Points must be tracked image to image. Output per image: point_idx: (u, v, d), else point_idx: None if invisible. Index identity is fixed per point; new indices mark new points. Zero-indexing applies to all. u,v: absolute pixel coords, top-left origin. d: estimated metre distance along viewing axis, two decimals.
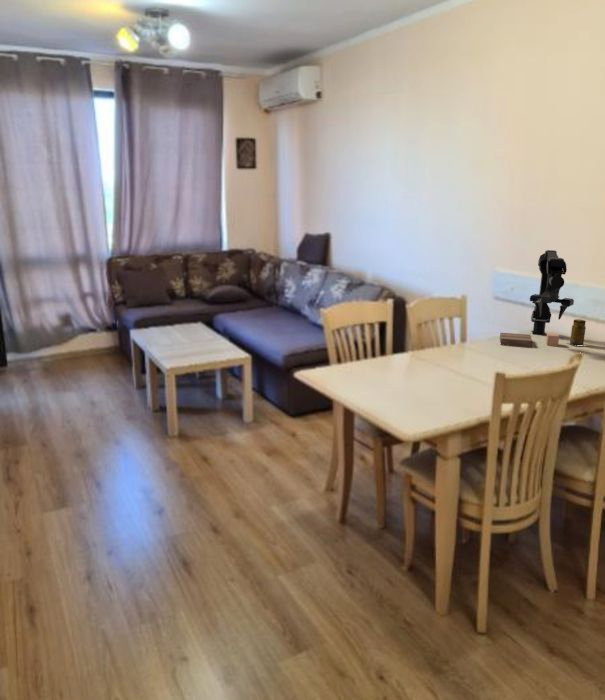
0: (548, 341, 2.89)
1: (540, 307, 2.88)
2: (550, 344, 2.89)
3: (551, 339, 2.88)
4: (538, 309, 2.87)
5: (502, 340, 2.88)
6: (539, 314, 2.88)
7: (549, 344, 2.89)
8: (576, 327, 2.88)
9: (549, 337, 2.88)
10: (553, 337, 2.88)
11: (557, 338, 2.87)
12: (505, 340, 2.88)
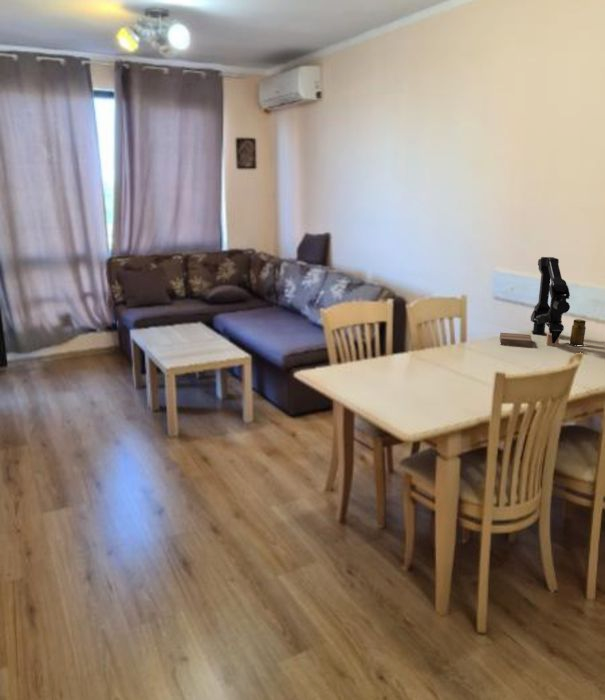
0: (548, 341, 2.89)
1: None
2: (550, 344, 2.89)
3: (551, 339, 2.88)
4: (549, 331, 2.95)
5: (502, 340, 2.88)
6: None
7: (549, 344, 2.89)
8: (576, 327, 2.88)
9: (549, 337, 2.88)
10: None
11: (558, 338, 2.87)
12: (505, 340, 2.88)
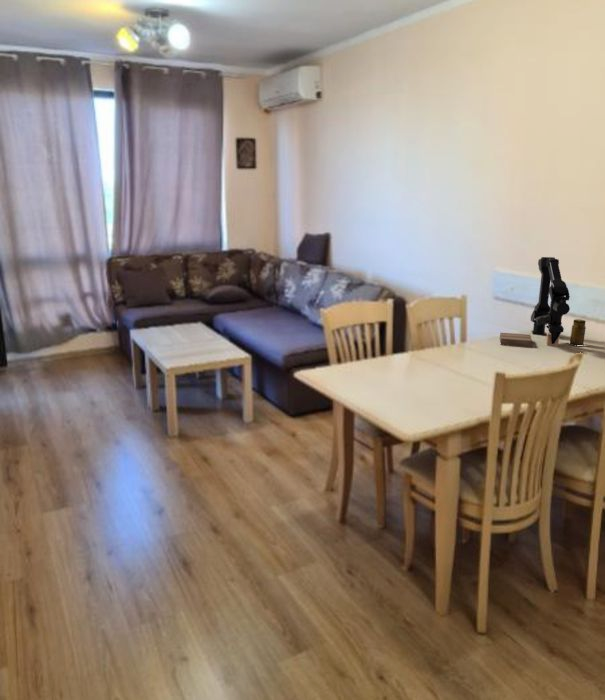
0: (548, 341, 2.89)
1: None
2: (550, 344, 2.89)
3: None
4: None
5: (502, 340, 2.88)
6: None
7: (549, 344, 2.89)
8: (576, 327, 2.88)
9: (549, 337, 2.88)
10: None
11: (558, 337, 2.87)
12: (505, 340, 2.88)
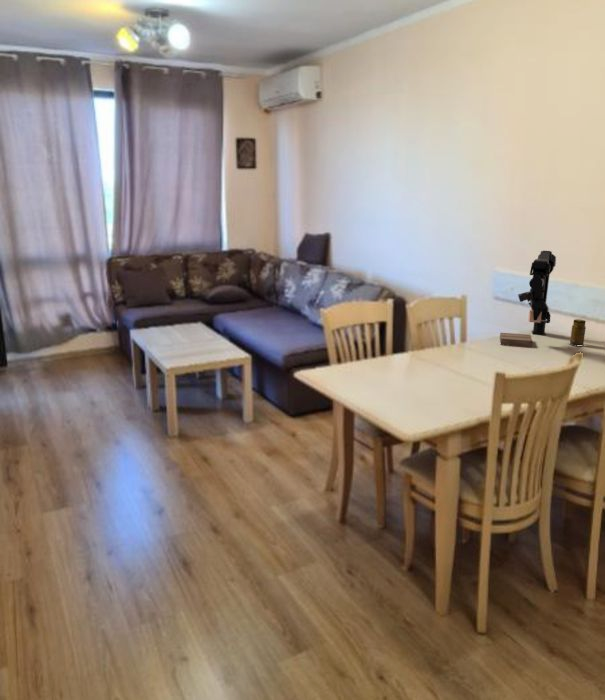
0: (530, 317, 2.87)
1: None
2: (532, 320, 2.87)
3: None
4: None
5: (502, 340, 2.88)
6: None
7: (531, 320, 2.87)
8: (576, 327, 2.88)
9: (531, 313, 2.87)
10: None
11: (540, 314, 2.86)
12: (505, 340, 2.88)
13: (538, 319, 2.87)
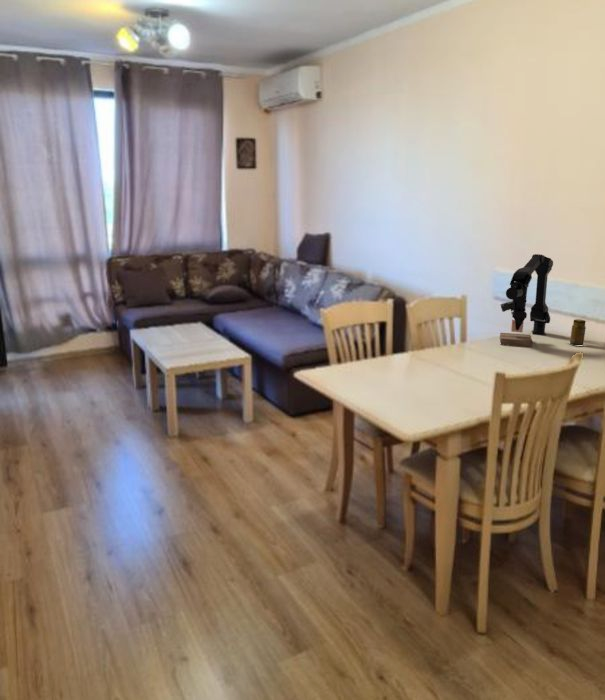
0: (512, 327, 2.90)
1: None
2: (514, 330, 2.90)
3: (515, 325, 2.90)
4: None
5: (502, 340, 2.88)
6: None
7: (513, 330, 2.90)
8: (576, 327, 2.88)
9: (513, 323, 2.90)
10: None
11: (522, 324, 2.89)
12: (505, 340, 2.88)
13: (520, 329, 2.89)
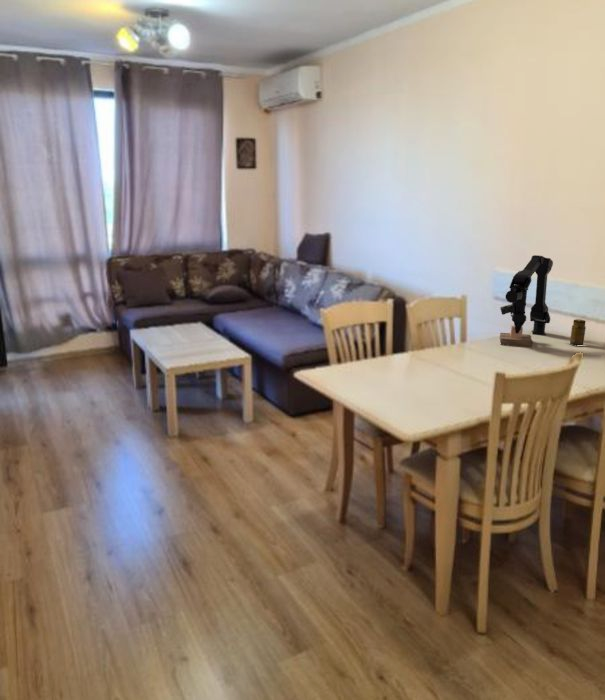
0: (512, 333, 2.91)
1: None
2: (514, 336, 2.91)
3: (515, 331, 2.90)
4: (514, 322, 2.96)
5: (502, 340, 2.88)
6: None
7: (513, 336, 2.91)
8: (576, 327, 2.88)
9: (513, 329, 2.90)
10: None
11: (521, 329, 2.89)
12: (505, 340, 2.88)
13: (519, 335, 2.90)
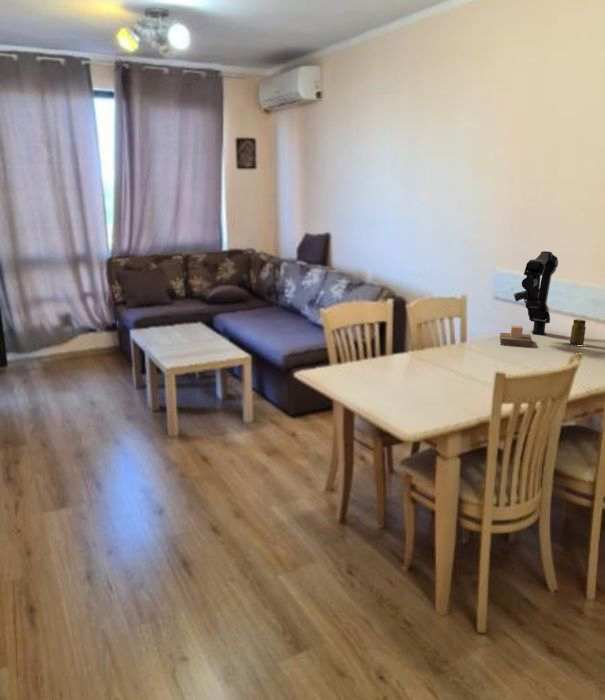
0: (512, 333, 2.91)
1: None
2: (514, 336, 2.91)
3: (515, 331, 2.90)
4: None
5: (502, 340, 2.88)
6: (528, 313, 3.00)
7: (513, 336, 2.91)
8: (576, 327, 2.88)
9: (513, 329, 2.90)
10: (517, 329, 2.90)
11: (521, 329, 2.89)
12: (505, 340, 2.88)
13: (519, 335, 2.90)
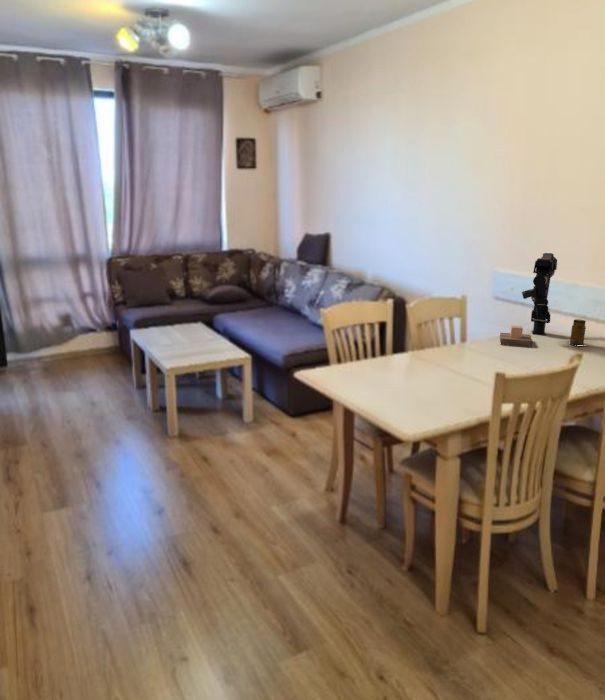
0: (512, 333, 2.91)
1: None
2: (514, 336, 2.91)
3: (515, 331, 2.90)
4: (535, 306, 3.03)
5: (502, 340, 2.88)
6: (535, 311, 3.03)
7: (513, 336, 2.91)
8: (576, 327, 2.88)
9: (513, 329, 2.90)
10: (517, 329, 2.90)
11: (521, 329, 2.89)
12: (505, 340, 2.88)
13: (519, 335, 2.90)
